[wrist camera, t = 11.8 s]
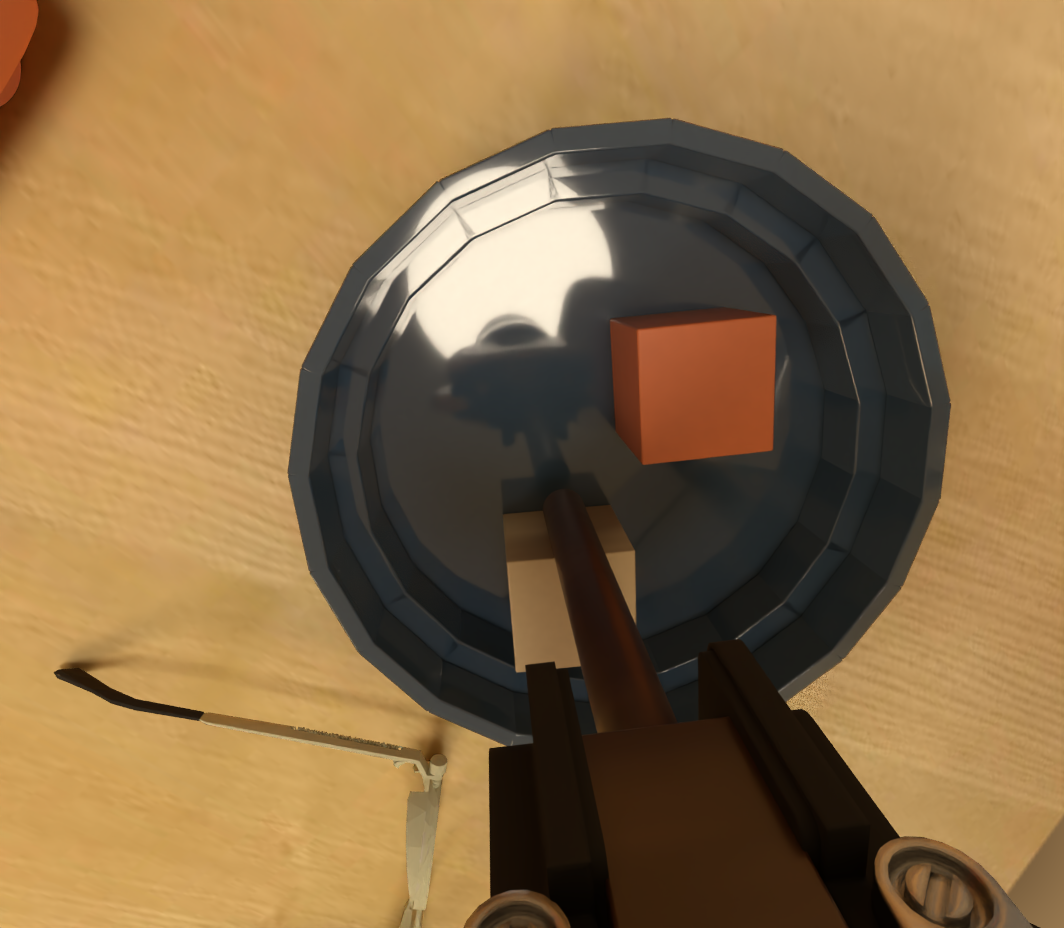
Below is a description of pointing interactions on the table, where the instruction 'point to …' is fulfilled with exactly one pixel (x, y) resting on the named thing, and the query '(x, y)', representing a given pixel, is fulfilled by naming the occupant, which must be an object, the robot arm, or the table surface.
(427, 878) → the eyeglasses
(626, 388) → the cube
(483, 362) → the bowl
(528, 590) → the cube
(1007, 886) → the table surface
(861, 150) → the table surface
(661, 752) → the stick
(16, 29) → the teapot
